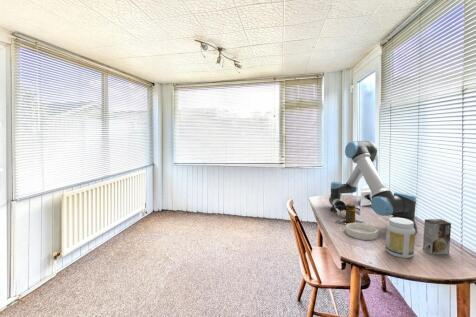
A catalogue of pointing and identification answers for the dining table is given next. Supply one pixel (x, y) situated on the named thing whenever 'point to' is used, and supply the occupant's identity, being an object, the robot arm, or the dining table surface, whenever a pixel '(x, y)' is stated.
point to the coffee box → (436, 236)
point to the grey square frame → (344, 223)
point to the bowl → (361, 231)
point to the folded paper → (366, 196)
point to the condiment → (350, 214)
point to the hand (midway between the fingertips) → (349, 213)
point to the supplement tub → (400, 237)
